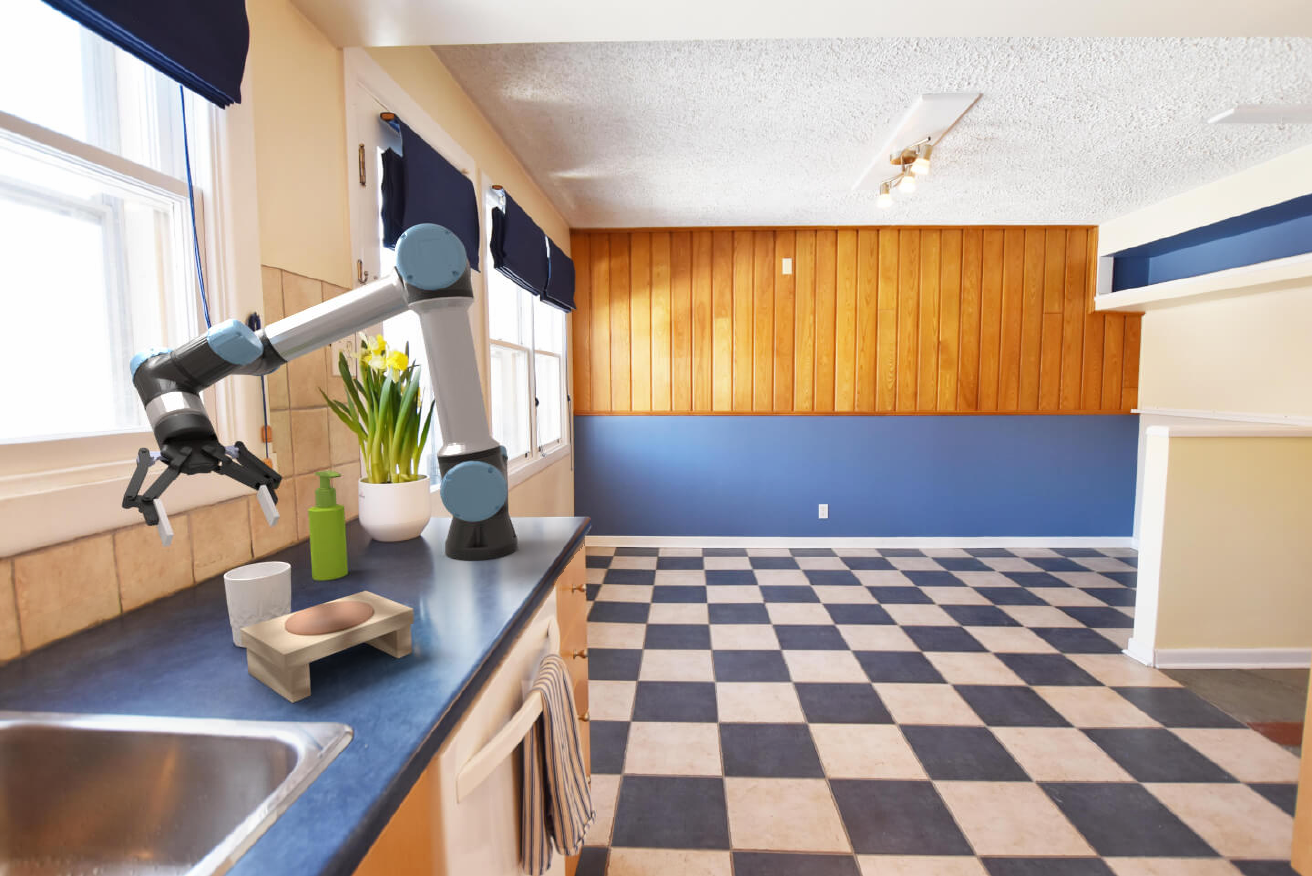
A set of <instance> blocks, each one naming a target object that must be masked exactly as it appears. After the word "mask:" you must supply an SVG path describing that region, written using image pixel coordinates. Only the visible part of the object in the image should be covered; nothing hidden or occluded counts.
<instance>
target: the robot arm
mask: <svg viewBox="0 0 1312 876" xmlns="http://www.w3.org/2000/svg"><path fill="white" fill-rule="evenodd" d="M394 262H395V266H393V267H392V269H391V272H390V274H388V275H386V276H383V277H381V278H377V279H376V280H373V281H371V282H369V283H367V284H364V285H361V286H359V287H357V288H354V289H352V290H350V291H347V292H345V293H343V294H339V295H338V296H335V297H332V298H331V299H327V300H326V301H324V302H321V303H319V304H317V305H314V306H311V307H309V308H307V309H305V310H303V311H300V312H297V313H295V314H293V315H290V316H288V317H285V318H283V319H281V320H278V321H276V322H274V323H271V324H268V325H266V326H265V327H262V328H259V329H257V330H255V331H253V330H252V329H251V328H250V327H249V326H247V325H246V324H245V323H243V322H242V321H241V320H238V319H234V318H231V319H227V320H224V321H222V322H221V323H218V324H216V325H213V326H211V327H210V328H209V329H208V330H206V331H205V332H203V333H201V334H200V335H198V336H197V337H194V338H193V339H191V340H189V341H188V342H186V343H185V344H182V345H181V346H179V347H178V348H175V349H172V348H168V347H159V346H156V347H154V348H151V349H143V350H141V351H139V352H137V353H136V354H135V355H133V357H132V358H131V360H130V362H129V371H130V374H131V377H132V379H131V381H132V384H133V387H134V388H135V389H136V391H137V393H138V395H139V398H140V401H141V402H142V405H143V408H144V411H145V415H146V416H147V419H148V421H149V424H150V427H151V430H152V433H153V435H154V437H155V441H156V443H157V446H158V448H159V450H160V451H159V450H157V451H154V450H153V451H150V449H149V448H148V447H140V448H139V449H138V452H137V456H136V468H135V470H134V472H133V474H132V476H131V478H130V481H129V483H128V486H127V487H126V490H125V492H124V495H123V498H122V502H121V508H123V509H125V510H129V509H132V508H137V511H138V512H139V513H140V514H142V515H143V518H144V522H145V523H146V525H147V526H148V527H152V526H153V527H154V526H156V529H157V531H158V535H159V538H160V540H161V543H162V545H163V547H169V546H171V544H172V542H173V538H174V536H175V534H174V531H173V529H172V526H171V523H170V521H169V517H168V514H167V512H166V509H165V507H164V504H163V502H162V498H160V497H161V496H162V494H163V493H164V492H165V491H166V490H167V488H169V487H170V485H171V484H172V483H173V482H174V481H175V480H177V478H178V477H179V476H180V475H181V474H185V475H187V476H193V475H196V474H204V475H205V474H211V473H212V472H213V473H216V474H218V475H220V476H226V477H228V478H230V479H232V480H234V481H236V482H238V483H241V484H243V485H245V486H246V487H249V488H251V489H252V490H255V491H256V492H257V493H256V498H257V500H258V503H259V505H260V507H261V510H262V512H263V514H264V516H265V518H266V521H267V523H268V525H269V527H270V528H272V527H276V526H277V523H278V521H279V519H280V517H281V516H280V513H279V511H278V508H277V507H276V506H277V504H278V502H279V498H278V496H277V494H276V491H275V490H277V489H279V487H280V484H281V482H282V480H283V476H282V475H281V474H279V473H278V472H277V471H276V470H274V469H273V468H272V467H271V466H269V465H268V464H267V463H265V462H264V461H262V460H261V459H260V458H259V457H258V456H256V455H255V454H254V453H252V452H251V451H250V450H248V448H247V446H246V445H245V443H244V442H243V441H241V440H237V441H235V442H234V444H231V445H227V446H226V445H225V446H224V445H223V444H221V442H219V438H218V436H217V433H216V431H215V429H214V426H213V424H212V422H211V420H210V416H209V414H208V412H207V409H206V408H205V405H204V404H203V401H202V399H201V396H200V392H202V391H204V390H206V389H207V388H210V387H212V385H214V384H216V383H218V382H219V381H221V380H223V379H224V378H227V377H228V376H231V375H232V376H234V375H235V376H236V375H237V376H241V375H242V376H244V375H245V376H253V377H262V376H266V375H270V374H273V373H275V372H277V371H278V370H279V369H280V368H281V367H282V366H283V365H285V364H288V363H289V362H291V361H293V360H294V361H295V360H296V359H299V358H301V357H303V356H305V355H308V354H310V353H312V352H315V351H317V350H319V349H322V348H324V347H326V346H328V345H330V344H333V343H336V342H338V341H341V340H342V339H343V340H344V339H345V338H348V337H349V336H352V335H355V334H356V333H359V332H361V331H363V330H366V329H368V328H370V327H373V326H375V325H378V324H380V323H382V322H385V321H387V320H390V319H392V318H394V317H396V316H399V315H400V314H403V313H405V312H408V311H413V312H414V313H416V314H417V316H418V319H419V323H420V329H421V333H422V334H421V335H422V338H423V343H424V349H425V354H426V359H427V365H428V369H429V375H430V380H431V385H432V391H433V396H434V402H435V407H436V411H437V416H438V417H437V418H438V422H439V426H440V427H439V428H440V434H441V437H442V438H441V439H442V446H441V447H440V448H439V450H438V451H437V453H436V457H437V464H438V469H439V474H440V479H441V482H440V487H439V489H440V490H439V495H440V499H441V502H442V505H443V506H444V508H445V509H446V511H447V512H448V513H450V514H451V515H452V517H451V522H450V525H449V529H448V532H447V536H446V537H447V538H446V539H445V542H444V551H445V552H444V553H445V556H447V557H449V558H451V559H456V560H464V561H480V560H489V559H496V558H500V557H504V556H508V555H510V554H512V553H514V552H515V551H516V550H517V549H518V546H519V545H518V536H517V534H516V531H515V528H514V525H513V522H512V520H511V516H510V513H509V479H508V478H509V477H508V475H509V474H508V461H509V456H508V450H507V447H505V446H504V445H502V444H501V443H500V442H498V441H497V440H496V439H494V438H493V437H492V436H491V434H490V429H489V423H488V416H487V411H486V405H485V400H484V396H483V390H482V389H483V388H482V383H481V379H480V372H479V368H478V361H477V356H476V351H475V344H474V339H473V333H472V329H471V328H472V327H471V323H470V317H469V309H470V308H471V307H472V305H473V304H474V302H475V296H474V291H473V284H472V279H471V277H472V276H471V275H472V267H471V263H470V261H469V258H468V255H467V251H466V248H465V246H464V244H463V242H462V241H461V239H460V238H459V237H458V236H457V235H456V234H454V232H452V230H450V229H448V228H446V227H444V226H442V225H440V224H436V223H420V224H416V225H413V226H411V227H409V228H408V229H407V230H405V231H404V232H403V233H402V234H401V236H399V238H398V240H397V242H396V244H395V248H394ZM234 460H236V461H237V462H236V461H234ZM157 461H160V462H161V463H163V464H165V465H167V467H166V469H164V471H163V472H161V474H160V475H159V476H158V477H157V479H156V480H155V481H154V482H153V483H152V484H151V485H150V486H149V488H147V490H146V491H145V492H144V493H143V494H139V493H140V491H141V488H142V486H143V484H144V481H145V478H146V476H147V474H148V472H149V468H151V467H152V466H154V465H155V464H156V462H157ZM220 463H221V465H220ZM507 554H508V555H507Z"/></svg>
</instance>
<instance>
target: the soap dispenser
mask: <svg viewBox="0 0 1312 876" xmlns="http://www.w3.org/2000/svg"><path fill="white" fill-rule="evenodd" d="M315 476H318V477H319V487H318V488H316V489H315V490H314V495H315V496H314V498H315V506H312V507H310V508H308V510H307V511H308V527H309V529H308V530H309V544H310V546H309V547H310V558H311V559H310V560H311V575H312V576H311V577H312V579H313V580H315V581H331V580H336V579H340V578H343V577H345V576H347V575H348V573H349V572H348V571H349V570H348V552H347V550H348V549H347V536H346V535H347V532H346V516H345V515H346V514H345V506H344V505H343V504H340V503H339V504H338V503H337V491H336V490H337V489H336V488H335V487H333V486H331V479H336V478H340V477H342V474H341V473H339V472H337V471H333V470H324V471H317V472H316V471H315Z"/></svg>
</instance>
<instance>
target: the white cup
mask: <svg viewBox="0 0 1312 876" xmlns="http://www.w3.org/2000/svg"><path fill="white" fill-rule="evenodd" d="M291 577H292V566H291V564H290V563H288V562H283V561H265V562H257V563H251V564H247V565H243V566H240V567H236V568H234V569H231V570H228V571H227V572H226V573H224V575H223V580H224V582H223V583H224V590H225V594H226V595H225V596H226V598H225V599H226V604H227V611H228V615H229V616H228V617H229V623H230V627H231V631H232V640H233V643H234V644H235V647H239V648H246V649H247V647H245V646H244V645H242V642H241V628H245V627H248V626H251V625H255V624H258V623H261V622H264V621H268V620H271V619H274V618H278V617H281V616H284V615H288V614H291V613H292V605H291V603H292V578H291Z"/></svg>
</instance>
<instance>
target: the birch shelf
mask: <svg viewBox="0 0 1312 876" xmlns="http://www.w3.org/2000/svg"><path fill="white" fill-rule="evenodd" d="M414 615H415V614H414V608H413V607H409V606H406V605H404V604H402V603H400V602H397V601H394V600H391V599H390V598H385V597H384V596H380V595H378V594H375V593H374V592H370V591H368V590H364V591H361V592H357V593H354V594H351V595H346V596H344V597H341V598H337V599H334V600H330V601H327V602H324V603H320V604H317V605H314V606H310V607H308V608H305V609H301V610H298V611H297V610H296V611H294V612H291V614H288V615H284V616H281V617H278V618H274V619H271V620H268V621H264V622H261V623H258V624H255V625H251V626H248V627H245V628H241V642H242V645H244V646H245V647H246V657H247V659H246V660H247V673H248V674H249V675H250V676H252V677H254V678H255V679H256V680H258V681H259V682H261V683H263V684H264V685H265V686H267V687H268V688H270V689H271V690H273V691H274V692H276V693H277V694H279V695H280V696H282V698H285V699H286V700H287V701H289V702H290V703H292V704H293V703H296V702H298V701H300V700H303V699H305V698H308V697H310V696H311V695H312V692H311V690H312V689H311V677H310V676H311V674H310V663H312V662H314V661H317V660H319V659H323V658H325V657H328V656H330V655H333V654H335V653H339V652H342V651H343V650H346V649H348V648H352V647H354V646H357V645H359V644H362V643H365V644H367V645H370V646H372V647H373V648H375V649H378V650H379V651H382V652H384V653H386V654H388V655H390V656H393V657H394V658H396V659H400V658H403V657H405V656H407V655H410V654H412V653H413V650H412V649H413V646H412V627H411V626H412V625H413V624H414V623H415V621H414V620H415V616H414Z"/></svg>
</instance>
